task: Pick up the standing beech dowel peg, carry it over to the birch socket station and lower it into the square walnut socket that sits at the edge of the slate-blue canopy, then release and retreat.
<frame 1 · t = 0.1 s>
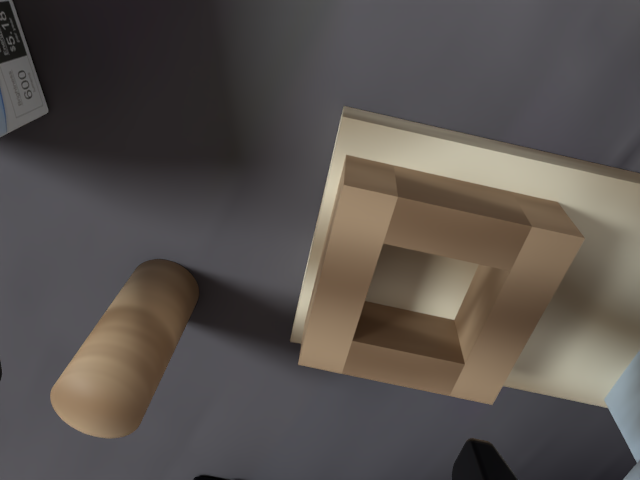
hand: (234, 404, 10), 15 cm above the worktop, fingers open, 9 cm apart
awning socket: (496, 267, 24), on the worktop
peg: (165, 288, 27), on the worktop
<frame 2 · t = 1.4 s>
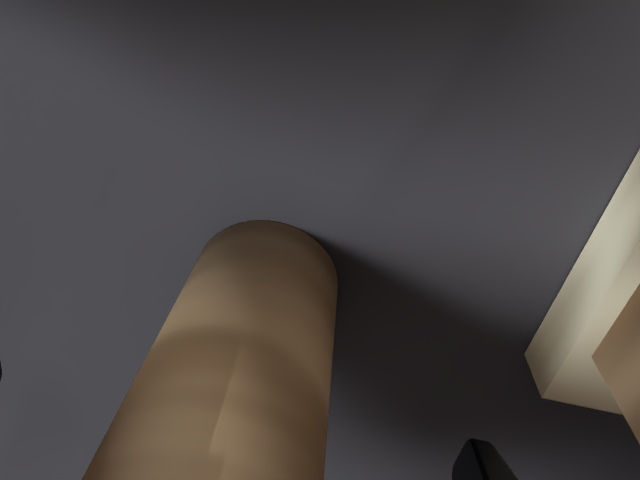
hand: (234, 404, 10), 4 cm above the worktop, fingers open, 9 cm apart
peg: (267, 282, 13), on the worktop
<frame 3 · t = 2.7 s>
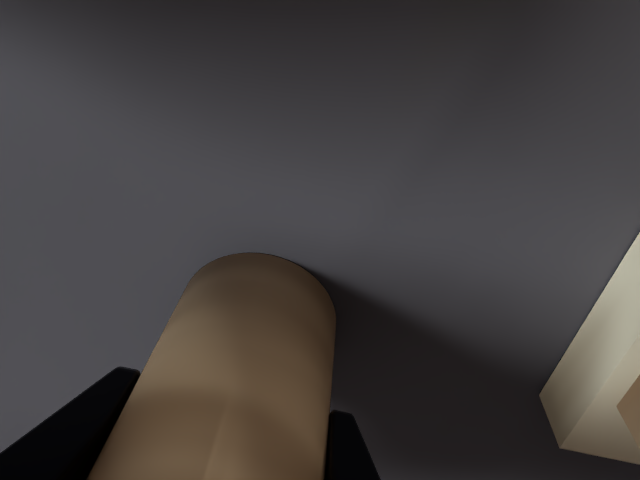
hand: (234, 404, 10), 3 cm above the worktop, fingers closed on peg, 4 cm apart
peg: (258, 318, 12), on the worktop, touching gripper
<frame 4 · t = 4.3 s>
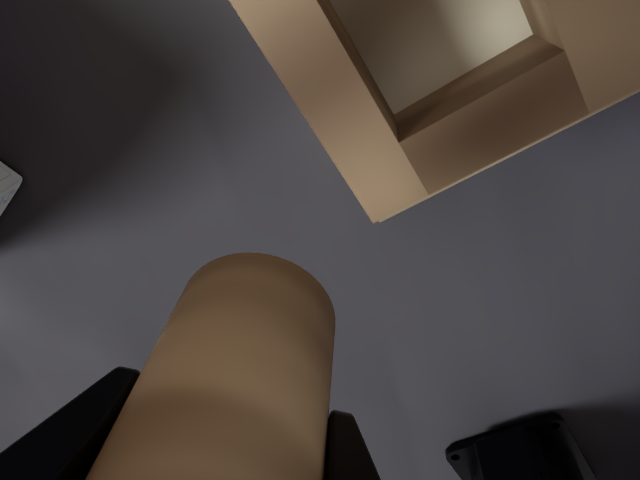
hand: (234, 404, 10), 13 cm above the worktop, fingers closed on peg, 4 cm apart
peg: (257, 318, 12), point 10 cm above the worktop, touching gripper
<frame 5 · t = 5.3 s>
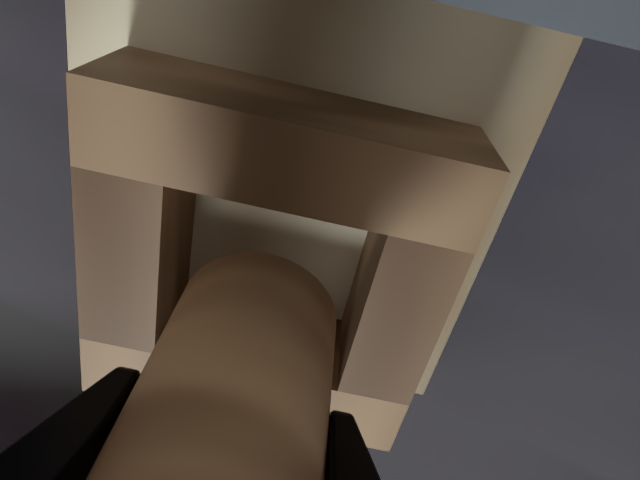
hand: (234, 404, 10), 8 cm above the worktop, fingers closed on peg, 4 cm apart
awning socket: (308, 91, 14), on the worktop
peg: (258, 318, 12), point 5 cm above the worktop, touching gripper
when the fingers open (5 cm above the worktop, at t = 6.0 s): peg drops 1 cm, resting on awning socket.
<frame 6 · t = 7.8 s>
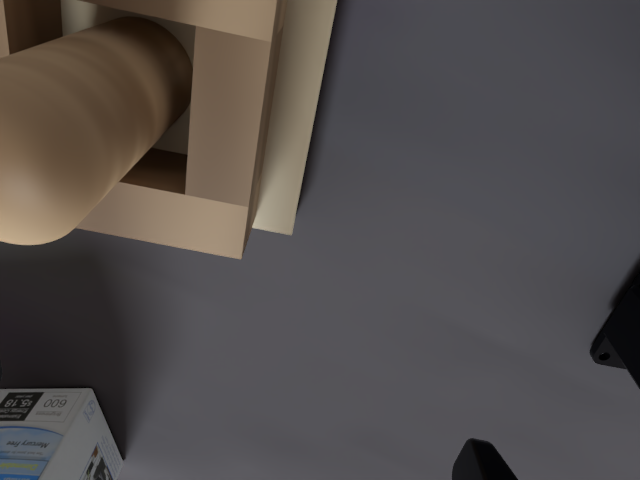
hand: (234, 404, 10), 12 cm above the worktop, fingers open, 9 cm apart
light bulb box: (25, 424, 29), on the worktop
peg: (140, 74, 17), point 1 cm above the worktop, touching awning socket
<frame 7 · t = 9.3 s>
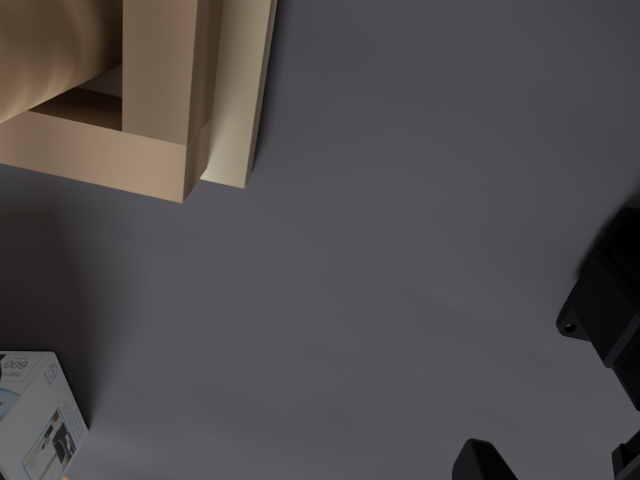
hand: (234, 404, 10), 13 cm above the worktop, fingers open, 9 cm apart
peg: (86, 14, 17), point 1 cm above the worktop, touching awning socket
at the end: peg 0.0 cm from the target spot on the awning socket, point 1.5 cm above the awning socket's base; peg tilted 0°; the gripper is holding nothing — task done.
